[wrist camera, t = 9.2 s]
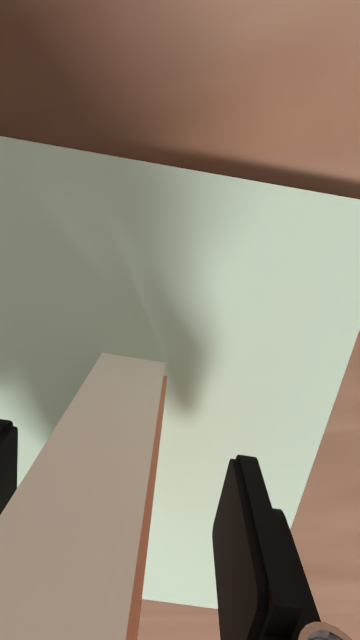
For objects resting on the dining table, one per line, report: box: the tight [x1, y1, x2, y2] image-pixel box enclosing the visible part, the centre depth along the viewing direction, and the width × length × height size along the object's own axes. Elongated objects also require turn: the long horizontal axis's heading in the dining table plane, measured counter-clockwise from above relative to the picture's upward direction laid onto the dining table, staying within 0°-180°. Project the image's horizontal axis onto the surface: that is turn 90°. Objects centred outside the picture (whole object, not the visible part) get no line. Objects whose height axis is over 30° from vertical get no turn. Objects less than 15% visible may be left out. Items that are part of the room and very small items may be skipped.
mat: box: [0, 136, 360, 609], centre depth 12 cm, size 18×20×1 cm
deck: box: [0, 353, 168, 640], centre depth 8 cm, size 6×2×9 cm, turn 171°
